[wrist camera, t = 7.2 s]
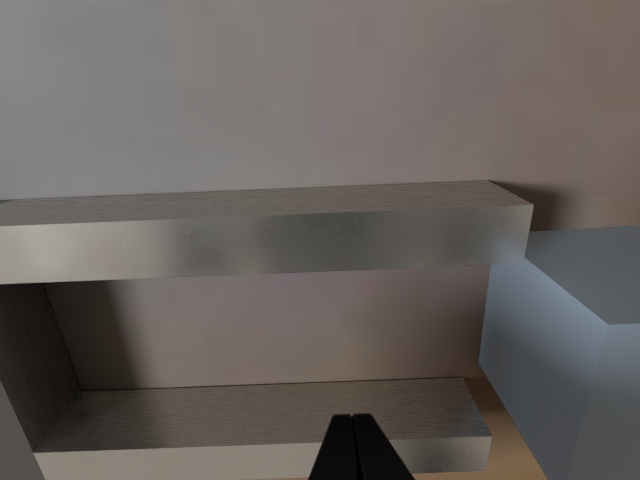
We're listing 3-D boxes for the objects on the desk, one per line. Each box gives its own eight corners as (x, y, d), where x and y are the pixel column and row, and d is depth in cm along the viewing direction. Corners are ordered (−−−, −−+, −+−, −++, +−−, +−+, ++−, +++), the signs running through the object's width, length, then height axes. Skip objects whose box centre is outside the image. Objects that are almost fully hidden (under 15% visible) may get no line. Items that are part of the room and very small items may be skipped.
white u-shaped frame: (487, 180, 11) (533, 204, 9) (458, 408, 14) (485, 470, 12) (-39, 201, 11) (-133, 231, 9) (53, 423, 14) (2, 487, 12)
